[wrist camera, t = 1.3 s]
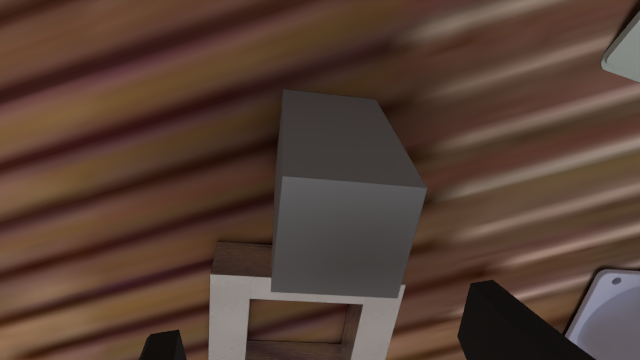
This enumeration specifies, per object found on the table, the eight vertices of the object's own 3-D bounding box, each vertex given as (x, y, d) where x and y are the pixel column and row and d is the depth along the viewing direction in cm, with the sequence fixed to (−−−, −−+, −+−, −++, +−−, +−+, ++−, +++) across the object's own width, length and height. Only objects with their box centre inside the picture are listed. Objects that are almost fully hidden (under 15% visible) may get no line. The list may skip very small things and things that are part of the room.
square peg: (375, 99, 20) (427, 187, 12) (359, 180, 21) (397, 298, 14) (283, 89, 19) (282, 176, 12) (275, 173, 21) (270, 291, 14)
